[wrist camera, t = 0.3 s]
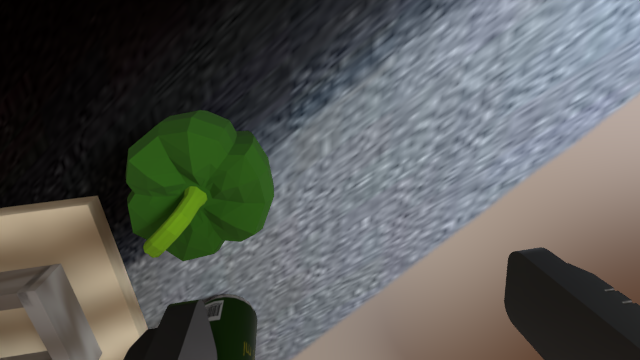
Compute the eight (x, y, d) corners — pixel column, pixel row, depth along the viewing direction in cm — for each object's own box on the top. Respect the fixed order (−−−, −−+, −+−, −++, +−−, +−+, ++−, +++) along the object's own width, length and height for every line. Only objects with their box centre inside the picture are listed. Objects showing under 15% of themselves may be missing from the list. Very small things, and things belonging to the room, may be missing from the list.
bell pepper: (241, 78, 24) (219, 104, 15) (290, 179, 27) (297, 252, 18) (131, 127, 24) (43, 182, 15) (192, 221, 27) (151, 313, 18)
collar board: (-137, 225, 25) (-221, 263, 20) (97, 195, 26) (63, 226, 22) (-18, 397, 32) (-62, 451, 27) (162, 367, 33) (146, 415, 29)
